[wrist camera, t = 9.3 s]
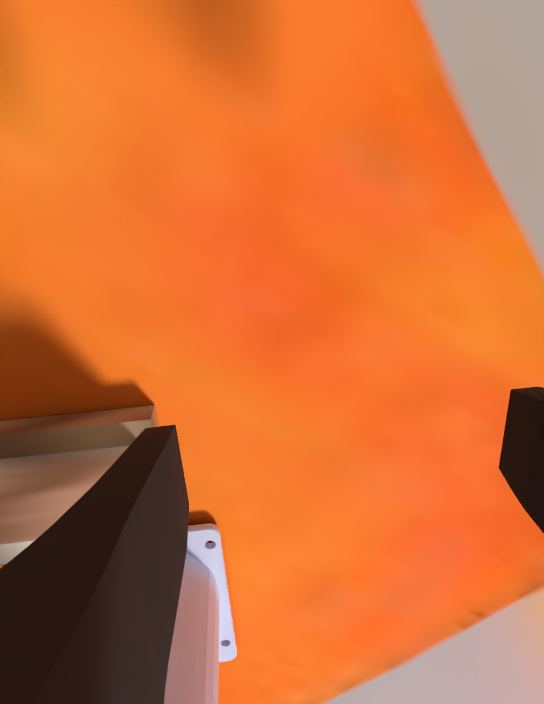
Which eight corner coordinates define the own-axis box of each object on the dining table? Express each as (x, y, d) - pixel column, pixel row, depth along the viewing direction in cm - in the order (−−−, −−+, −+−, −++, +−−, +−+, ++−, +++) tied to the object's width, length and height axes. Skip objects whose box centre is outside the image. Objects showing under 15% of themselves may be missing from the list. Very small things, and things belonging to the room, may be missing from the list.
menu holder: (154, 404, 19) (126, 501, 14) (165, 463, 21) (143, 573, 15) (-91, 429, 19) (-222, 540, 13) (-65, 488, 20) (-176, 612, 14)
